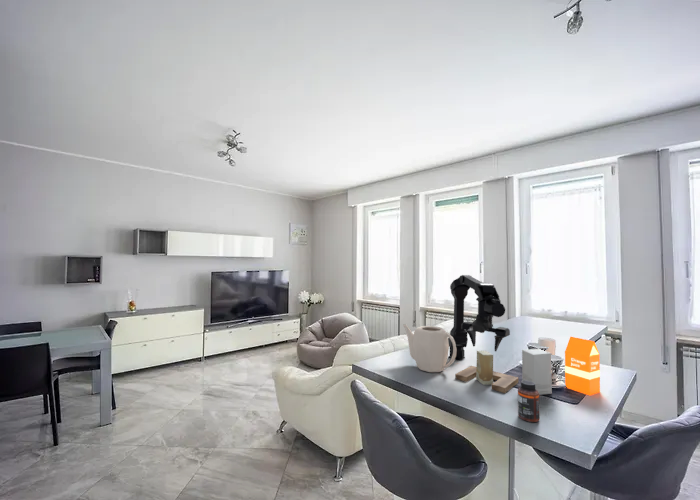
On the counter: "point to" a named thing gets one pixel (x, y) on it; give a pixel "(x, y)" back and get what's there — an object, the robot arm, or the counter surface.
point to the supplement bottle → (528, 402)
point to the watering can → (430, 347)
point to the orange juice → (582, 366)
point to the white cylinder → (548, 344)
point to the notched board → (501, 384)
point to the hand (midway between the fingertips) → (484, 348)
